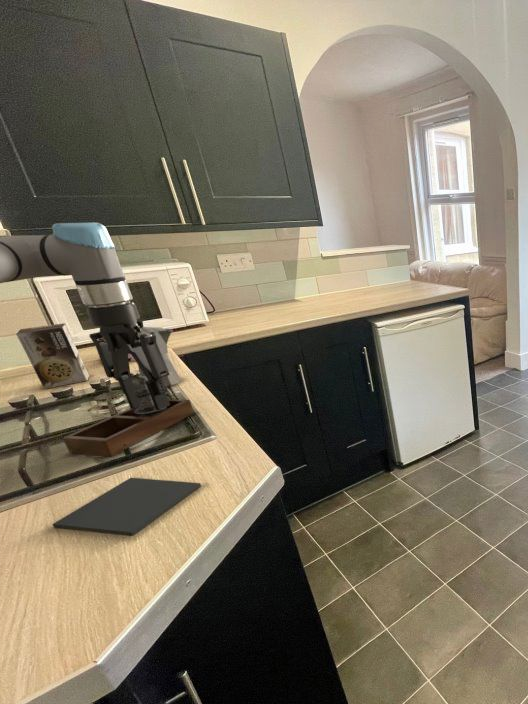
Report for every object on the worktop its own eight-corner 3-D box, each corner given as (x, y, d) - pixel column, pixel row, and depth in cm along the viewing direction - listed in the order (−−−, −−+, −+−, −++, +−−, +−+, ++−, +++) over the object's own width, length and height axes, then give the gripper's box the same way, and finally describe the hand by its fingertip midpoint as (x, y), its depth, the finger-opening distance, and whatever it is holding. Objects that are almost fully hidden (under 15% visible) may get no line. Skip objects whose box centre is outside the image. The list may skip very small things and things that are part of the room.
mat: (53, 527, 63) (51, 524, 63) (131, 480, 74) (130, 477, 74) (132, 535, 61) (131, 532, 61) (201, 486, 72) (200, 483, 72)
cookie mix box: (89, 375, 125) (66, 322, 119) (87, 381, 121) (63, 326, 115) (46, 383, 120) (19, 328, 114) (42, 389, 116) (14, 332, 109)
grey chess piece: (165, 414, 99) (147, 366, 94) (177, 419, 96) (159, 370, 91) (135, 424, 94) (114, 374, 90) (146, 430, 91) (126, 379, 87)
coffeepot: (194, 374, 124) (174, 314, 117) (184, 385, 115) (161, 322, 109) (131, 382, 119) (106, 320, 112) (115, 394, 111) (87, 328, 104)
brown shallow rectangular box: (69, 453, 83) (62, 438, 82) (158, 411, 100) (152, 398, 99) (112, 456, 82) (105, 440, 80) (194, 413, 99) (189, 399, 98)
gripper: (167, 300, 87) (201, 401, 96) (91, 300, 90) (131, 398, 98) (131, 308, 80) (172, 416, 89) (50, 307, 83) (97, 412, 92)
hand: (150, 406), depth 94 cm, fingers closed on grey chess piece, 6 cm apart
